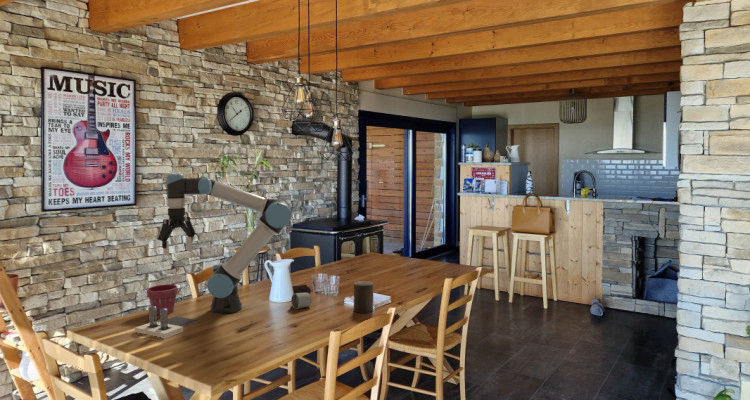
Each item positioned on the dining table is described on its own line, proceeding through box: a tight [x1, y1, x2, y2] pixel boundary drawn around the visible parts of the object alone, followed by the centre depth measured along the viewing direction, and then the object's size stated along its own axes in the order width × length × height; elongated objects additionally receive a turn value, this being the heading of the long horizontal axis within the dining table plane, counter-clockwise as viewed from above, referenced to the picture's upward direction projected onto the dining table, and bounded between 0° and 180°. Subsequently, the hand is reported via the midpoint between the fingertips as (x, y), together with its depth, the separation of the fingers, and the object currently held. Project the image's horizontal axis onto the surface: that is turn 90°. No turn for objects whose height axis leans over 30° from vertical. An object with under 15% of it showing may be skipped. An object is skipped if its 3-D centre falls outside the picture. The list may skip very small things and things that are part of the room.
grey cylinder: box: [291, 292, 312, 310], centre depth 268 cm, size 11×8×8 cm
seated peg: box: [148, 305, 158, 328], centre depth 231 cm, size 3×3×11 cm
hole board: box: [134, 321, 184, 340], centre depth 229 cm, size 10×18×2 cm, turn 63°
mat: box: [168, 316, 198, 327], centre depth 243 cm, size 14×14×1 cm
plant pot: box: [146, 283, 179, 316], centre depth 259 cm, size 14×14×13 cm
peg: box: [159, 308, 169, 331], centre depth 227 cm, size 3×3×11 cm
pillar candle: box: [353, 280, 374, 314], centre depth 260 cm, size 10×10×15 cm
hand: (178, 252), depth 246 cm, fingers open, 13 cm apart
